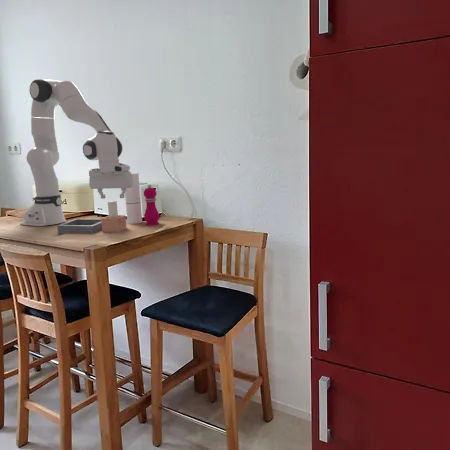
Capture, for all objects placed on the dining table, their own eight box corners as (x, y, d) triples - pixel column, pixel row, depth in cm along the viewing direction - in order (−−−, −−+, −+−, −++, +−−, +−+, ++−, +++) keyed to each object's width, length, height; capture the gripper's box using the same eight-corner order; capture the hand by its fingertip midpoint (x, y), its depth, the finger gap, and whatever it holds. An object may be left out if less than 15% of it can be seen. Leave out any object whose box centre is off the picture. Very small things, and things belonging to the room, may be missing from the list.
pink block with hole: (102, 233, 214) (101, 218, 213) (111, 229, 222) (109, 215, 220) (118, 234, 212) (117, 218, 211) (126, 230, 220) (125, 215, 218)
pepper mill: (153, 228, 221) (150, 185, 217) (141, 227, 225) (138, 185, 221) (163, 225, 227) (160, 183, 223) (151, 224, 231) (148, 183, 227)
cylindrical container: (143, 222, 236) (140, 172, 230) (140, 225, 229) (136, 173, 224) (129, 222, 236) (125, 172, 231) (125, 225, 229) (121, 174, 224)
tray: (58, 234, 217) (57, 225, 216) (77, 226, 232) (76, 218, 231) (93, 235, 212) (92, 226, 211) (110, 227, 227) (109, 219, 226)
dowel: (108, 230, 215) (105, 202, 213) (112, 228, 219) (110, 200, 217) (116, 230, 214) (114, 202, 212) (120, 228, 218) (118, 200, 215)
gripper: (84, 169, 211) (88, 199, 214) (126, 167, 205) (130, 199, 208) (92, 167, 217) (95, 197, 219) (133, 166, 211) (136, 196, 214)
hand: (112, 198), depth 214 cm, fingers open, 8 cm apart
